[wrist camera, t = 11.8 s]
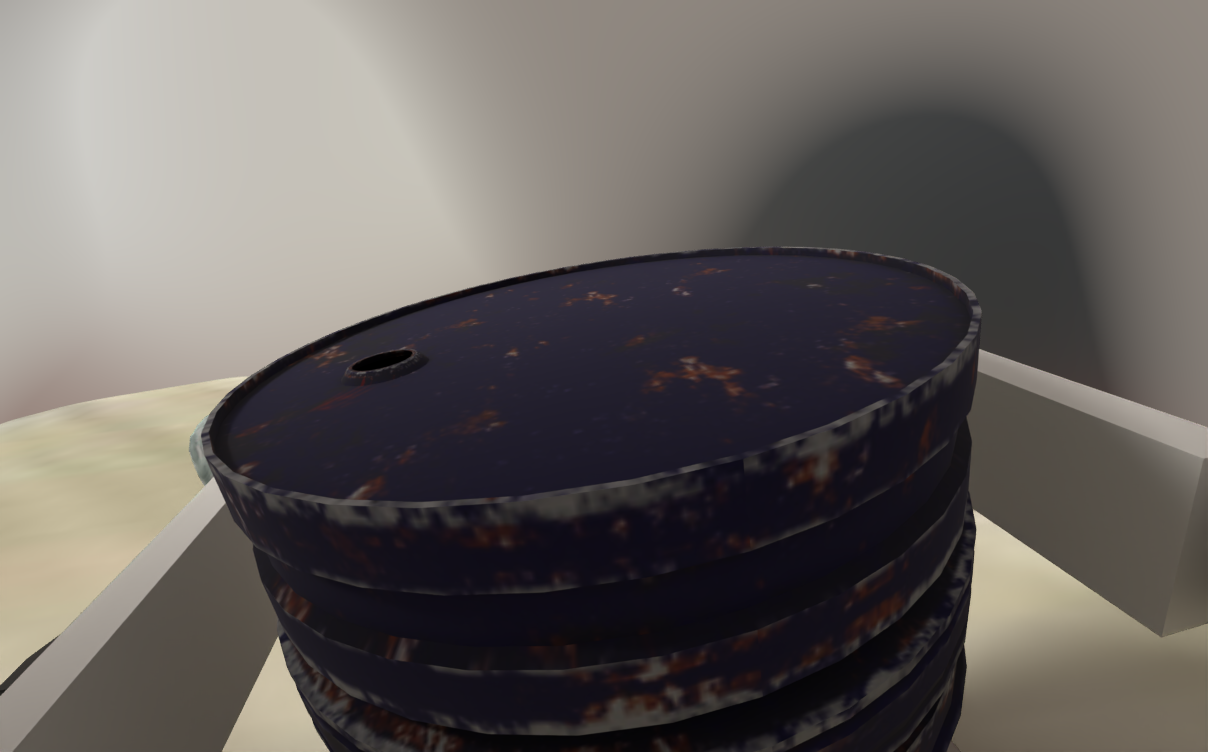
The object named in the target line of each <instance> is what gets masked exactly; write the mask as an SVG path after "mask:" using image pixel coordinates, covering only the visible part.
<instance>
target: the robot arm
mask: <svg viewBox="0 0 1208 752" xmlns="http://www.w3.org/2000/svg"><path fill="white" fill-rule="evenodd" d="M967 421H968V426H969V430H970V434H971V439H972V451H971V464H970V477H969V490H968V491H969V493H970V498H971V503H972V508H973V509H974V510H976V511H977V512H979V513H980V514H981V515H983V516H984V517H986V518H987V519H989V520H990V521H992V522H993V523H995V524H996V525H998V526H999V527H1001V528H1002V529H1003V530H1005V531H1006V532H1008V533H1009V534H1011V535H1012V536H1014V537H1015V538H1017V539H1018V540H1020V541H1021V542H1022V543H1024V544H1025V545H1027V546H1028V547H1030V548H1031V549H1033V550H1034V551H1036V552H1037V553H1039V554H1040V555H1042V556H1043V557H1044V558H1046V559H1047V560H1049V561H1050V562H1052V563H1053V564H1055V565H1056V566H1058V567H1059V568H1061V569H1062V570H1064V571H1065V572H1066V573H1068V574H1069V575H1071V576H1072V577H1074V578H1075V579H1077V580H1078V581H1080V582H1081V583H1083V584H1084V585H1086V586H1087V587H1088V588H1090V589H1091V590H1093V591H1094V592H1096V593H1097V594H1099V595H1100V596H1102V597H1103V598H1105V599H1106V600H1108V601H1109V602H1110V603H1112V604H1113V605H1115V606H1116V607H1118V608H1119V609H1121V610H1122V611H1124V612H1125V613H1127V614H1128V615H1129V616H1131V617H1132V618H1134V619H1135V620H1137V621H1138V622H1140V623H1141V624H1143V625H1144V626H1146V627H1147V628H1149V629H1150V630H1151V631H1153V632H1154V633H1156V634H1157V635H1159V636H1160V637H1164V636H1167V635H1170V634H1174V633H1177V632H1180V631H1184V630H1187V629H1191V628H1194V627H1197V626H1201V625H1204V624H1207V623H1208V427H1205V426H1202V425H1199V424H1197V423H1193V422H1191V421H1188V420H1185V419H1182V418H1179V417H1176V416H1173V415H1170V414H1167V413H1164V412H1161V411H1158V410H1156V409H1152V408H1150V407H1147V406H1144V405H1141V404H1138V403H1135V402H1132V401H1129V400H1126V399H1123V398H1120V397H1118V396H1115V395H1112V394H1109V393H1106V392H1103V391H1100V390H1097V389H1094V388H1091V387H1088V386H1085V385H1082V384H1080V383H1077V382H1073V381H1071V380H1068V379H1065V378H1062V377H1059V376H1056V375H1053V374H1050V373H1047V372H1044V371H1042V370H1039V369H1036V368H1033V367H1030V366H1027V365H1024V364H1021V363H1018V362H1015V361H1012V360H1009V359H1006V358H1003V357H1001V356H997V355H995V354H992V353H989V352H986V351H983V350H980V349H979V358H978V371H977V382H976V387H975V392H974V397H973V402H972V407H971V411H970V412H969V414H968V415H967ZM277 637H278V632H277V614H276V612H275V610H274V608H273V606H272V603H271V601H270V599H269V597H268V595H267V593H266V590H265V588H264V586H263V584H262V582H261V579H260V575H259V571H258V568H257V564H256V560H255V556H254V553H253V543H252V542H251V541H250V540H249V538H248V537H247V536H246V535H245V534H244V532H243V531H242V530H241V529H240V528H239V527H238V525H237V524H236V523H235V522H234V520H233V518H232V516H231V513H230V511H229V509H228V507H227V505H226V502H225V500H224V498H223V496H222V494H221V491H220V489H219V487H218V485H217V483H216V480H215V478H214V477H213V478H212V479H211V480H210V481H209V482H208V483H207V484H206V485H205V486H204V487H203V488H202V489H201V490H200V492H199V493H198V494H197V495H196V496H195V497H194V498H193V499H192V500H191V501H190V502H189V503H188V504H187V505H186V506H185V507H184V508H183V509H182V510H181V511H180V512H179V513H178V514H177V515H176V516H175V517H174V518H173V519H172V520H171V521H170V522H169V523H168V524H167V525H166V526H165V527H164V529H163V530H162V531H161V532H160V533H159V534H158V535H157V536H156V537H155V538H154V539H153V540H152V541H151V542H150V543H149V544H148V545H147V546H146V547H145V548H144V549H143V550H142V551H141V552H140V553H139V554H138V555H137V556H136V557H135V558H134V559H133V560H132V561H131V562H130V563H129V564H128V566H127V567H126V568H125V569H124V570H123V571H122V572H121V573H120V574H119V575H118V576H117V577H116V578H115V579H114V580H113V581H112V582H111V583H110V584H109V585H108V586H107V587H106V588H105V589H104V590H103V591H102V592H101V593H100V594H99V595H98V596H97V597H96V598H95V599H94V600H93V601H92V603H91V604H90V605H89V606H88V607H87V608H86V609H85V610H84V611H83V612H82V613H81V614H80V615H79V616H78V617H77V618H76V619H75V620H74V621H73V622H72V623H71V624H70V625H69V626H68V627H67V628H66V629H65V630H64V631H63V632H62V633H61V634H60V635H59V636H57V637H56V638H55V639H53V640H52V641H51V642H49V643H48V644H46V645H45V646H44V647H42V648H41V649H40V650H38V651H37V652H35V653H34V654H33V655H31V656H30V657H29V658H27V659H26V660H25V661H24V662H23V663H22V664H21V665H20V666H19V667H18V668H17V669H16V670H15V671H14V672H13V673H12V674H11V675H10V676H9V677H8V678H7V679H6V680H5V681H4V682H3V683H2V684H1V685H0V752H222V750H223V748H224V746H225V744H226V741H227V739H228V737H229V735H230V733H231V731H232V729H233V727H234V725H235V723H236V721H237V719H238V717H239V715H240V713H241V711H242V709H243V707H244V705H245V702H246V700H247V698H248V696H249V694H250V692H251V690H252V688H253V686H254V684H255V682H256V680H257V678H258V676H259V674H260V672H261V670H262V668H263V666H264V664H265V661H266V659H267V657H268V655H269V653H270V651H271V649H272V647H273V645H274V643H275V641H276V639H277Z"/></svg>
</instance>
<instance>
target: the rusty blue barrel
mask: <svg viewBox="0 0 1208 752" xmlns="http://www.w3.org/2000/svg"><path fill="white" fill-rule="evenodd" d="M981 318H982V311H981V308H980V306H979V304H978V301H977V299H976V297H975V295H974V292H972V291H971V290H970V289H969V288H968V287H966V286H965V285H964V284H963V283H962V282H960V281H959V280H958V279H957V278H955V277H953V276H951V275H949V274H947V273H944V272H942V271H940V270H938V269H936V268H933V267H931V266H928V265H924V264H921V263H918V262H914V261H910V260H907V259H904V258H899V257H893V256H888V255H881V254H877V253H869V252H862V251H851V250H843V249H830V248H829V249H828V248H811V247H742V248H722V249H704V250H692V251H681V252H670V253H661V254H652V255H644V256H634V257H627V258H620V259H613V260H606V261H599V262H593V263H587V264H581V265H575V266H569V267H563V268H559V269H553V270H548V271H542V272H537V273H533V274H528V275H523V276H519V277H514V278H509V279H504V280H500V281H496V282H492V283H488V284H483V285H479V286H475V287H471V288H467V289H464V290H460V291H456V292H453V293H449V294H446V295H442V296H438V297H434V298H431V299H428V300H424V301H421V302H418V303H415V304H411V305H408V306H405V307H402V308H399V309H396V310H393V311H390V312H387V313H384V314H381V315H378V316H375V317H372V318H370V319H367V320H364V321H362V322H359V323H356V324H354V325H351V326H349V327H346V328H343V329H341V330H338V331H336V332H334V333H332V334H329V335H327V336H325V337H322V338H320V339H318V340H315V341H313V342H311V343H308V344H307V345H305V346H303V347H301V348H299V349H297V350H295V351H293V352H291V353H289V354H287V355H285V356H283V357H281V358H279V359H277V360H276V361H274V362H272V363H271V364H269V365H267V366H266V367H264V368H262V369H261V370H259V371H258V372H256V373H254V374H253V375H251V376H250V377H248V378H247V379H246V380H244V381H243V382H242V383H241V384H239V385H238V386H237V387H235V388H234V389H233V390H232V391H230V392H229V393H228V394H227V395H226V396H225V397H224V398H223V399H222V400H221V401H220V403H219V404H218V405H217V406H216V407H215V408H214V409H213V410H212V412H211V413H210V414H209V416H208V419H207V421H206V423H205V426H204V428H203V430H202V433H201V439H202V445H203V451H204V456H205V459H206V461H207V463H208V465H209V467H210V469H211V472H212V474H213V476H214V478H215V480H216V483H217V485H218V487H219V489H220V491H221V494H222V496H223V498H224V500H225V502H226V505H227V507H228V509H229V511H230V513H231V516H232V518H233V520H234V522H235V523H236V524H237V525H238V527H239V528H240V529H241V530H242V531H243V532H244V534H245V535H246V536H247V537H248V538H249V540H250V541H251V542H252V543H253V553H254V556H255V560H256V564H257V568H258V571H259V575H260V579H261V582H262V584H263V586H264V588H265V590H266V593H267V595H268V597H269V599H270V601H271V603H272V606H273V608H274V610H275V612H276V614H277V632H278V636H279V640H280V643H281V647H282V650H283V654H284V658H285V661H286V665H287V668H288V670H289V673H290V675H291V677H292V678H293V680H294V681H295V683H296V686H297V690H298V692H299V694H300V696H301V698H302V700H303V703H304V705H305V707H306V709H307V711H308V713H309V715H310V716H311V718H312V721H313V724H314V726H315V728H316V731H317V732H318V734H319V736H320V737H321V739H322V740H323V742H324V743H325V745H326V746H327V748H328V749H329V751H330V752H947V750H948V747H949V744H950V742H951V739H952V737H953V734H954V731H955V729H956V726H957V724H958V721H959V718H960V716H961V709H962V701H963V692H964V684H965V676H966V668H967V665H966V656H965V648H964V643H965V637H966V629H967V622H968V614H969V606H970V598H971V583H972V575H973V563H974V546H975V539H976V525H975V519H974V514H973V508H972V503H971V498H970V493H969V491H968V490H969V477H970V464H971V451H972V439H971V434H970V430H969V426H968V421H967V415H968V414H969V412H970V411H971V407H972V402H973V397H974V392H975V387H976V382H977V371H978V358H979V345H980V332H981Z"/></svg>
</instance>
